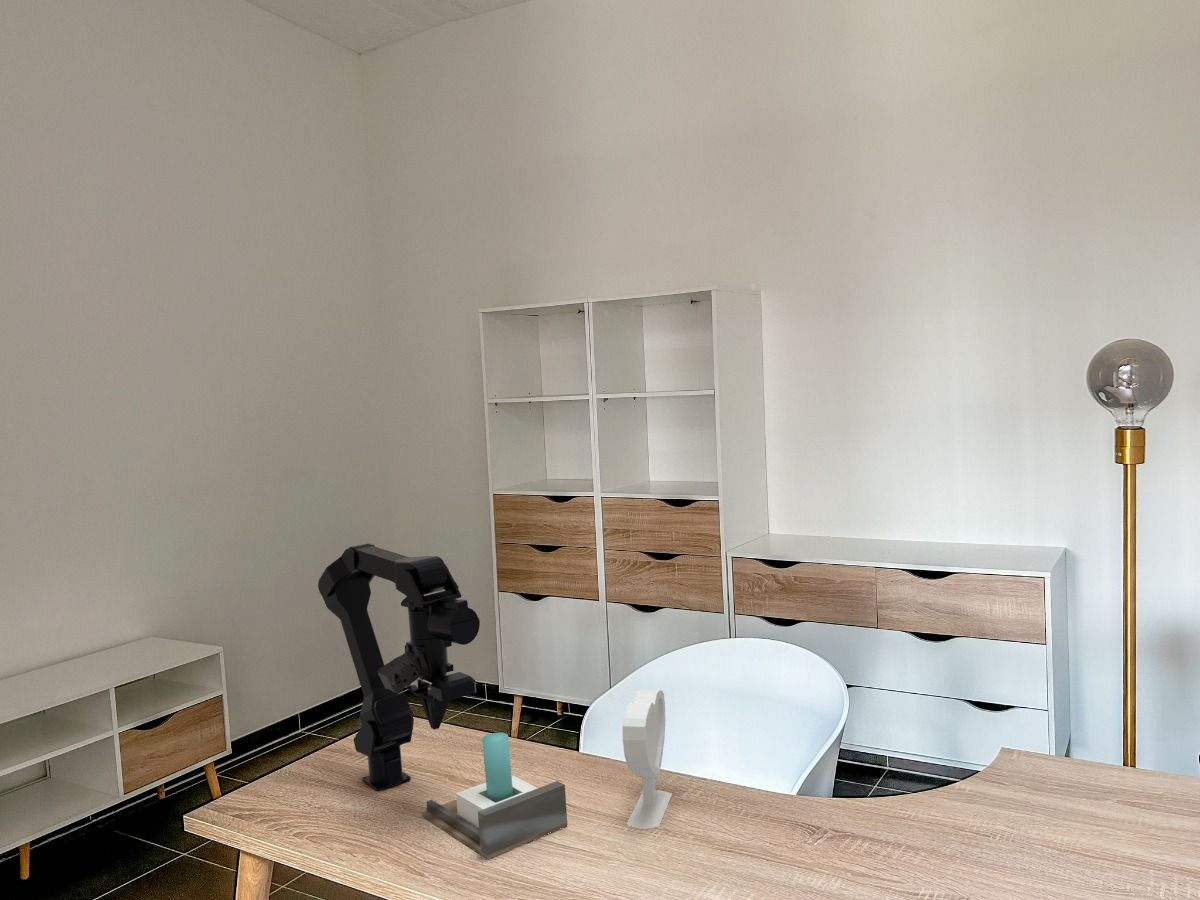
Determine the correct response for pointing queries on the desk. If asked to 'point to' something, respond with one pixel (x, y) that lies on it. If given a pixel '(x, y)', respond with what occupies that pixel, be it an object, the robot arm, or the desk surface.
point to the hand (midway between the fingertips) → (435, 728)
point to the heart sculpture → (646, 754)
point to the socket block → (484, 799)
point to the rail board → (505, 820)
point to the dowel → (497, 766)
